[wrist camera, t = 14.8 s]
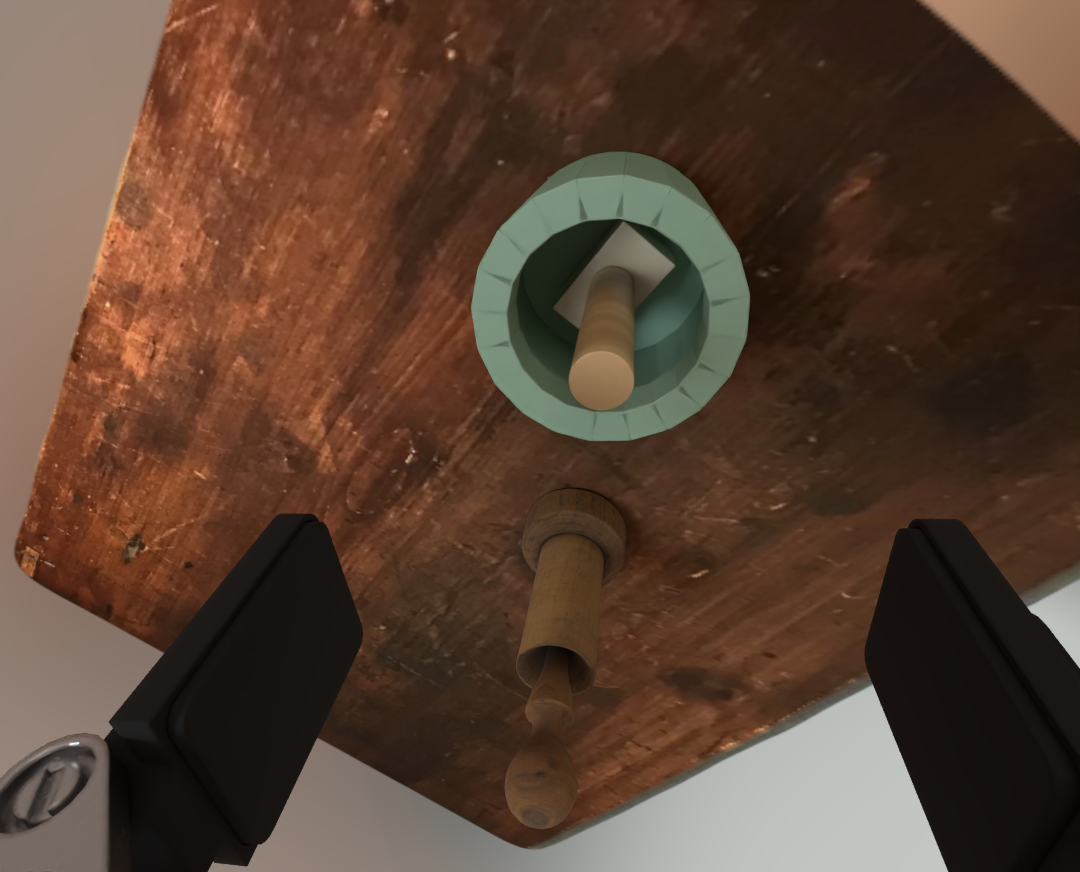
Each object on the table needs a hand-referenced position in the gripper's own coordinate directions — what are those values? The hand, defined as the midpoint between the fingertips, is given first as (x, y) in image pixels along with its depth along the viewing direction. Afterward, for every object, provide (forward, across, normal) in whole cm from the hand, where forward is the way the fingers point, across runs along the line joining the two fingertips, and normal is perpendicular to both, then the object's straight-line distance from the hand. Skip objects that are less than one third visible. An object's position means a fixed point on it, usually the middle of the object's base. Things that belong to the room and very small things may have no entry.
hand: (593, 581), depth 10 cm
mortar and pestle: (+23, +3, +18) cm, 29 cm away
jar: (+23, 0, +1) cm, 23 cm away
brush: (+22, 0, +1) cm, 22 cm away
